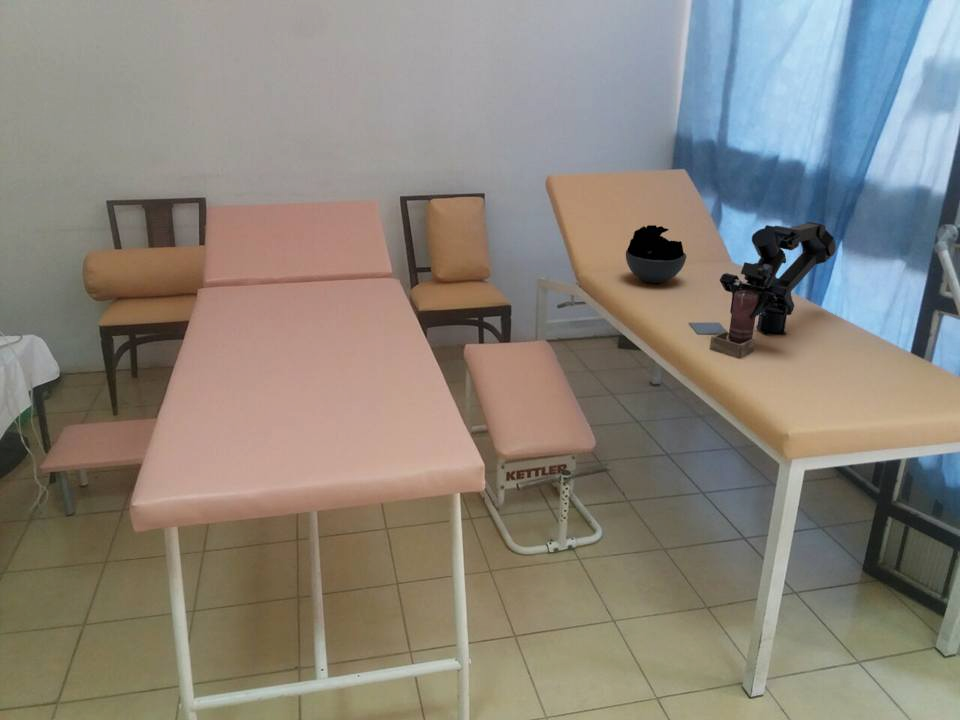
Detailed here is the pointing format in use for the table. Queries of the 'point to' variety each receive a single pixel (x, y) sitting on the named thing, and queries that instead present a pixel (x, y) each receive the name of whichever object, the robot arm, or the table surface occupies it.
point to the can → (743, 315)
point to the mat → (707, 328)
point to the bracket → (731, 345)
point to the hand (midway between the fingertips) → (740, 315)
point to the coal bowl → (654, 255)
